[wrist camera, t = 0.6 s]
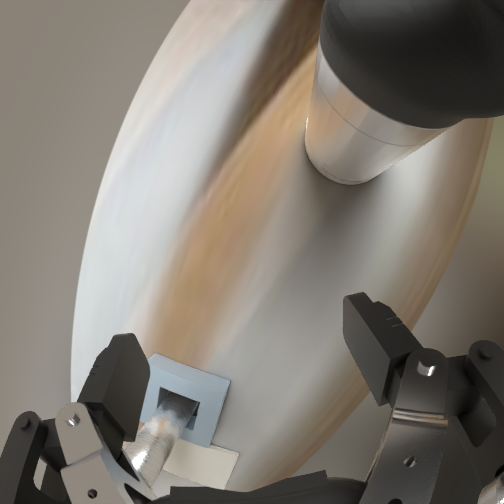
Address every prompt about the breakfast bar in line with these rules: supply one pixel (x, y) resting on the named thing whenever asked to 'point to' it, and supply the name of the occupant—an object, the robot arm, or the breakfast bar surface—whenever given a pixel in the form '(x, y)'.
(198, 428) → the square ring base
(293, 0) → the breakfast bar surface
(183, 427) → the steel pin
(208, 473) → the felt pad
